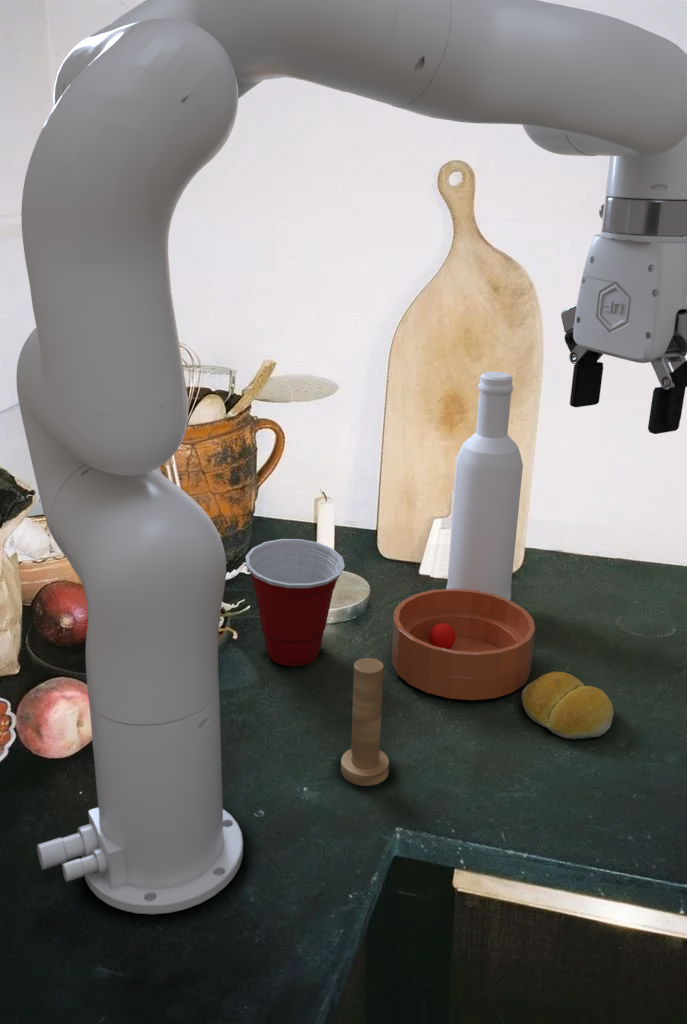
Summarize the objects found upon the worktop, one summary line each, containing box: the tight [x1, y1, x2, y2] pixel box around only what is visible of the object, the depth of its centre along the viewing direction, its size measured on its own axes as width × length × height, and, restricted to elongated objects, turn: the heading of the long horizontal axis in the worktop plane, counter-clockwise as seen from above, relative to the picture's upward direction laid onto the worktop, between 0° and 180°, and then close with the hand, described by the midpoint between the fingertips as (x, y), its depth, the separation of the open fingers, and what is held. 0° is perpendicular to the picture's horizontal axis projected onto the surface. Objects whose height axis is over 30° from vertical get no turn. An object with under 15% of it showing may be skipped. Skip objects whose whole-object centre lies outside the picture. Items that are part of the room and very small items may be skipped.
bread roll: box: [521, 671, 615, 740], centre depth 95 cm, size 8×9×4 cm
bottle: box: [445, 371, 524, 601], centre depth 111 cm, size 8×8×30 cm
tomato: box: [429, 623, 456, 649], centre depth 106 cm, size 3×3×3 cm
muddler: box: [340, 657, 390, 787], centre depth 84 cm, size 4×4×11 cm
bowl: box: [391, 588, 536, 701], centre depth 103 cm, size 15×15×6 cm
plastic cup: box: [245, 538, 346, 667], centre depth 104 cm, size 11×11×12 cm
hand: (621, 417), depth 85 cm, fingers open, 9 cm apart
